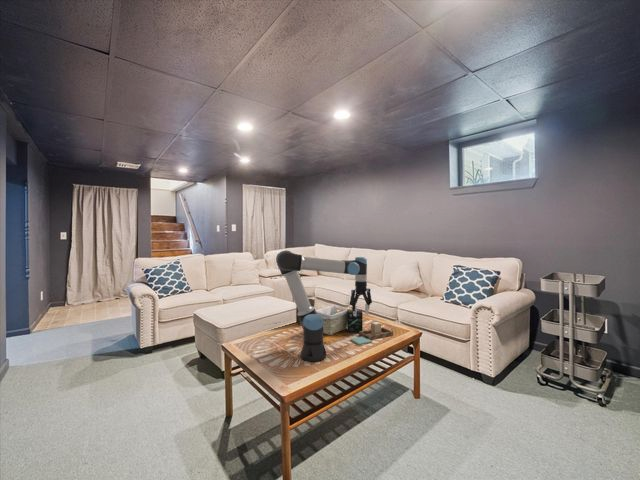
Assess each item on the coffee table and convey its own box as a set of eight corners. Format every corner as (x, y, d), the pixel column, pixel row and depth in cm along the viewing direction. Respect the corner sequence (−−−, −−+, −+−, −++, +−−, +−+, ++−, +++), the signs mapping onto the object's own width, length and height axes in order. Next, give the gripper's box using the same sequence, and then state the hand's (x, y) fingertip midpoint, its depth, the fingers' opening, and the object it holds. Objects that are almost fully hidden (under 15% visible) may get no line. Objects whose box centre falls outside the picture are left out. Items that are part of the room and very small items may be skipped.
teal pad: (359, 345, 184) (359, 343, 184) (350, 340, 193) (350, 338, 193) (371, 342, 189) (371, 340, 189) (362, 337, 198) (362, 336, 198)
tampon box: (362, 328, 217) (362, 309, 217) (362, 332, 208) (362, 312, 208) (347, 328, 218) (347, 308, 218) (347, 332, 209) (347, 312, 209)
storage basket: (330, 336, 201) (331, 315, 200) (312, 330, 211) (313, 310, 210) (349, 328, 219) (350, 308, 218) (332, 323, 229) (333, 304, 229)
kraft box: (375, 336, 199) (375, 324, 199) (370, 334, 204) (370, 322, 204) (381, 335, 202) (381, 323, 202) (376, 333, 206) (376, 321, 206)
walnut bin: (368, 340, 193) (368, 336, 193) (358, 335, 203) (358, 331, 203) (393, 335, 203) (393, 331, 203) (382, 330, 212) (382, 327, 212)
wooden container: (317, 323, 231) (317, 296, 231) (300, 326, 224) (300, 298, 224) (309, 319, 244) (309, 293, 244) (293, 321, 237) (293, 294, 237)
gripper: (350, 282, 183) (350, 318, 183) (377, 280, 193) (377, 314, 193) (343, 281, 190) (343, 315, 190) (370, 279, 199) (370, 311, 199)
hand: (360, 315), depth 191 cm, fingers open, 9 cm apart
